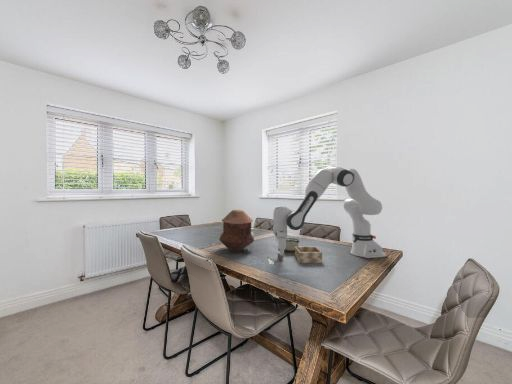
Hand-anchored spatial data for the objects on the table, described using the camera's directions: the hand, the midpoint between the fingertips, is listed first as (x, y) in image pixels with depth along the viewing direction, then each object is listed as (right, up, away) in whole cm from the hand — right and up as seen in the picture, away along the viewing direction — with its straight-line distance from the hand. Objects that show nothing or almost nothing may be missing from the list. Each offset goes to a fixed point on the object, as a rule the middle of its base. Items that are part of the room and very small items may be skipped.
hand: (280, 252), depth 149 cm
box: (+18, -5, 0) cm, 18 cm away
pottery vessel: (-30, -5, +24) cm, 39 cm away
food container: (+9, -5, +18) cm, 21 cm away
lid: (0, -6, 0) cm, 6 cm away
